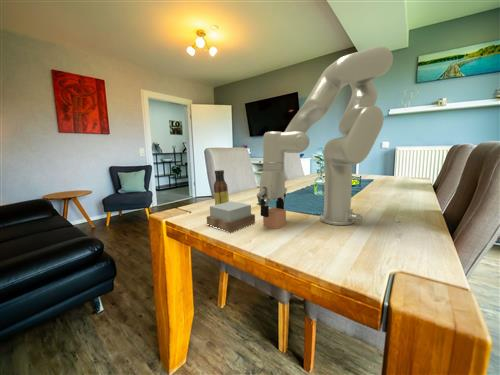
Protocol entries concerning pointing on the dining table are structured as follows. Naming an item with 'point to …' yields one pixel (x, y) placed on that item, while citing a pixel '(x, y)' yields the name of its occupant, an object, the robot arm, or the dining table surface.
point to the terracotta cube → (275, 218)
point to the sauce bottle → (220, 188)
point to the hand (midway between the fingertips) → (272, 213)
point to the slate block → (230, 211)
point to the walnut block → (231, 223)
